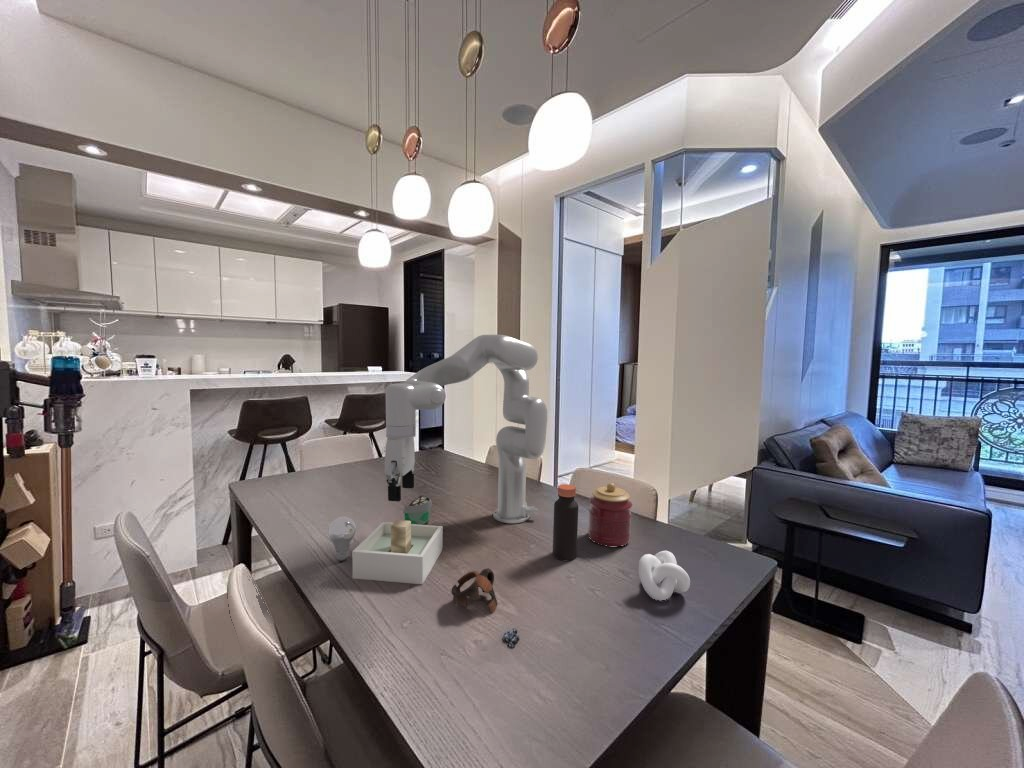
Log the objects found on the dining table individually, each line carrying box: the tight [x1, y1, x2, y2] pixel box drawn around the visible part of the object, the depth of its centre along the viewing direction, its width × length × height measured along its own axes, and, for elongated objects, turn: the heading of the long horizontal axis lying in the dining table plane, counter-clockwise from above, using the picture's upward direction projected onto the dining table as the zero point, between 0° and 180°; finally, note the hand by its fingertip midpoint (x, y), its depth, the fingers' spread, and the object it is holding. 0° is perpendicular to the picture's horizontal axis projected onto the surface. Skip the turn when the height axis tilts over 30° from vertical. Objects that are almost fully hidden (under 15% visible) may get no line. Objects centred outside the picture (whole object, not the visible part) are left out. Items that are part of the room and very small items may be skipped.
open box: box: [351, 521, 444, 585], centre depth 112 cm, size 18×18×7 cm
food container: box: [403, 493, 433, 525], centre depth 132 cm, size 12×6×10 cm, turn 168°
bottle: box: [552, 483, 579, 561], centre depth 118 cm, size 7×7×20 cm
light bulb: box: [327, 516, 357, 562], centre depth 113 cm, size 7×7×12 cm
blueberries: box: [502, 627, 529, 649], centre depth 84 cm, size 7×8×2 cm
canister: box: [587, 482, 633, 546], centre depth 129 cm, size 13×13×18 cm
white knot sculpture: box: [638, 550, 691, 602], centre depth 102 cm, size 11×12×9 cm
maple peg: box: [391, 519, 411, 554], centre depth 112 cm, size 4×4×10 cm
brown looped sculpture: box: [450, 568, 498, 615], centre depth 96 cm, size 12×10×8 cm
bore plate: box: [369, 534, 432, 555], centre depth 112 cm, size 16×16×3 cm
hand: (401, 494), depth 111 cm, fingers open, 9 cm apart
